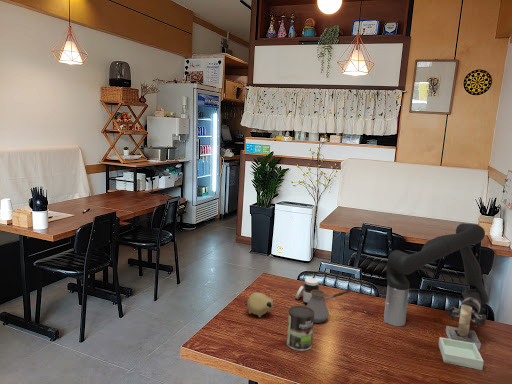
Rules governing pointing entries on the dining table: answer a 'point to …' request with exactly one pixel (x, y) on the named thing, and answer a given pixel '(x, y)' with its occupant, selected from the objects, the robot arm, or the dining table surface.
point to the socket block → (471, 337)
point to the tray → (460, 353)
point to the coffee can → (300, 328)
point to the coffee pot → (320, 305)
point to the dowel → (464, 321)
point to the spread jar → (307, 289)
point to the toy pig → (259, 304)
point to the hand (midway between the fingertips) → (464, 320)
